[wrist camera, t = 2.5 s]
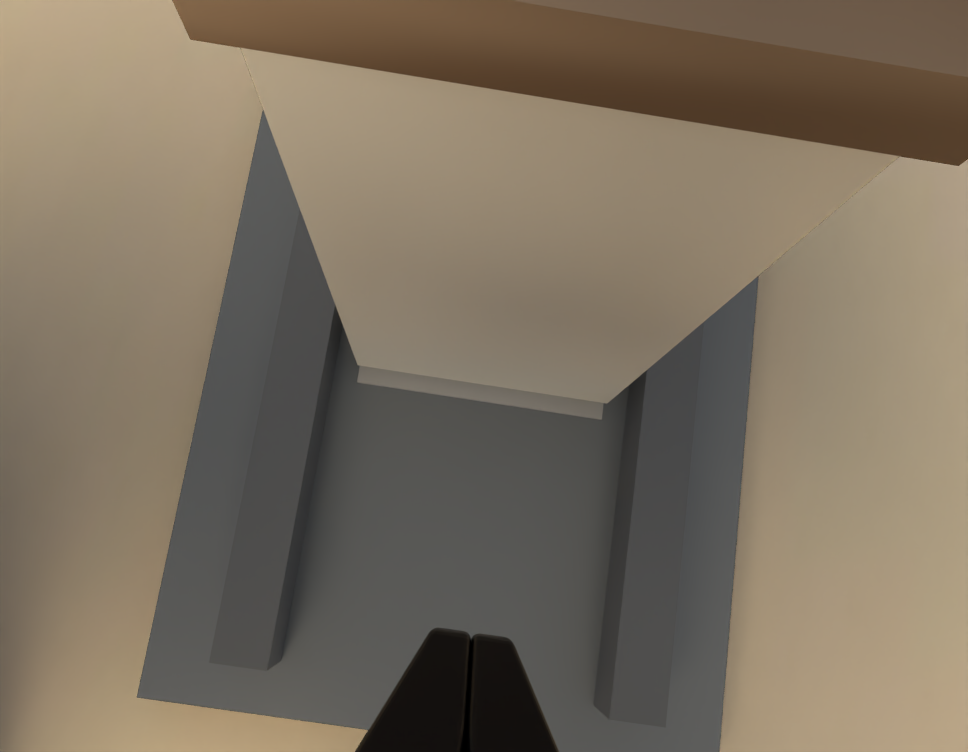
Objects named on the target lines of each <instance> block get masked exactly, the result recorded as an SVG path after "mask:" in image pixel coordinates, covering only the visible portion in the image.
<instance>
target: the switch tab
mask: <svg viewBox="0 0 968 752" xmlns="http://www.w3.org/2000/svg"><path fill="white" fill-rule="evenodd" d="M173 3H174V5H175V7H176V9H177V11H178V13H179V16H180V18H181V20H182V22H183V24H184V26H185V29H186V31H187V33H188V35H189V37H190V39H191V40H197V41H203V42H209V43H215V44H221V45H227V46H233V47H239V48H241V51H242V54H243V56H244V59H245V62H246V64H247V67H248V70H249V72H250V75H251V78H252V81H253V83H254V86H255V89H256V91H257V94H258V97H259V100H260V102H261V105H262V108H263V110H264V113H265V116H266V119H267V121H268V124H269V127H270V129H271V132H272V135H273V137H274V140H275V143H276V146H277V148H278V151H279V154H280V156H281V159H282V162H283V165H284V167H285V170H286V173H287V175H288V178H289V181H290V183H291V186H292V189H293V192H294V194H295V197H296V200H297V202H298V205H299V208H300V211H301V213H302V216H303V219H304V221H305V224H306V227H307V230H308V232H309V235H310V238H311V240H312V243H313V246H314V248H315V251H316V254H317V257H318V259H319V262H320V265H321V267H322V270H323V273H324V276H325V278H326V281H327V284H328V286H329V289H330V292H331V294H332V297H333V300H334V303H335V305H336V308H337V311H338V313H339V316H340V319H341V322H342V324H343V327H344V330H345V332H346V335H347V338H348V341H349V343H350V346H351V349H352V351H353V354H354V357H355V359H356V362H357V365H359V366H366V367H372V368H379V369H385V370H392V371H398V372H405V373H411V374H418V375H424V376H431V377H437V378H444V379H450V380H457V381H463V382H470V383H476V384H483V385H489V386H496V387H502V388H509V389H515V390H522V391H528V392H535V393H541V394H548V395H555V396H561V397H568V398H574V399H581V400H587V401H594V402H600V403H608V402H610V401H611V400H612V399H613V398H614V397H615V396H617V395H618V394H619V393H620V392H621V391H623V390H624V389H625V388H626V387H627V386H629V385H630V384H631V383H632V382H633V381H634V380H636V379H637V378H638V377H639V376H640V375H642V374H643V373H644V372H645V371H646V370H647V369H649V368H650V367H651V366H652V365H653V364H655V363H656V362H657V361H658V360H659V359H660V358H662V357H663V356H664V355H665V354H666V353H668V352H669V351H670V350H671V349H672V348H673V347H675V346H676V345H677V344H678V343H679V342H681V341H682V340H683V339H684V338H685V337H686V336H688V335H689V334H690V333H691V332H692V331H694V330H695V329H696V328H697V327H698V326H700V325H701V324H702V323H703V322H704V321H705V320H707V319H708V318H709V317H710V316H711V315H713V314H714V313H715V312H716V311H717V310H718V309H720V308H721V307H722V306H723V305H724V304H726V303H727V302H728V301H729V300H730V299H731V298H733V297H734V296H735V295H736V294H737V293H739V292H740V291H741V290H742V289H743V288H744V287H746V286H747V285H748V284H749V283H750V282H752V281H753V280H754V279H755V278H756V277H757V276H759V275H760V274H761V273H762V272H763V271H765V270H766V269H767V268H768V267H769V266H771V265H772V264H773V263H774V262H775V261H776V260H778V259H779V258H780V257H781V256H782V255H784V254H785V253H786V252H787V251H788V250H789V249H791V248H792V247H793V246H794V245H795V244H797V243H798V242H799V241H800V240H801V239H802V238H804V237H805V236H806V235H807V234H808V233H810V232H811V231H812V230H813V229H814V228H815V227H817V226H818V225H819V224H820V223H821V222H823V221H824V220H825V219H826V218H827V217H828V216H830V215H831V214H832V213H833V212H834V211H836V210H837V209H838V208H839V207H840V206H842V205H843V204H844V203H845V202H846V201H847V200H849V199H850V198H851V197H852V196H853V195H855V194H856V193H857V192H858V191H859V190H860V189H862V188H863V187H864V186H865V185H866V184H868V183H869V182H870V181H871V180H872V179H873V178H875V177H876V176H877V175H878V174H879V173H881V172H882V171H883V170H884V169H885V168H886V167H888V166H889V165H890V164H891V163H892V162H894V161H895V160H896V159H897V158H898V157H899V156H901V157H907V158H913V159H920V160H926V161H932V162H938V163H944V164H950V165H956V166H959V165H960V164H962V163H963V162H964V161H966V160H967V159H968V0H173Z"/></svg>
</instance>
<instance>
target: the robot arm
mask: <svg viewBox="0 0 968 752" xmlns="http://www.w3.org/2000/svg"><path fill="white" fill-rule="evenodd" d="M355 752H559V750H558V747H557V745H556V742H555V740H554V738H553V735H552V733H551V731H550V728H549V726H548V723H547V721H546V719H545V716H544V714H543V712H542V709H541V707H540V704H539V702H538V700H537V697H536V695H535V692H534V690H533V688H532V685H531V683H530V681H529V678H528V676H527V673H526V671H525V669H524V666H523V664H522V662H521V659H520V657H519V654H518V652H517V650H516V647H515V645H514V644H513V642H512V641H511V640H510V639H509V638H507V637H502V636H495V635H488V634H481V633H478V634H475V635H473V637H472V638H471V637H470V635H469V634H468V633H467V632H465V631H460V630H453V629H446V628H439V627H437V628H433V629H432V630H431V631H430V632H429V633H428V635H427V636H426V638H425V640H424V641H423V643H422V644H421V646H420V648H419V649H418V651H417V652H416V654H415V656H414V657H413V659H412V661H411V662H410V664H409V665H408V667H407V669H406V670H405V672H404V673H403V675H402V677H401V678H400V680H399V682H398V683H397V685H396V686H395V688H394V690H393V691H392V693H391V694H390V696H389V698H388V699H387V701H386V703H385V704H384V706H383V707H382V709H381V711H380V712H379V714H378V715H377V717H376V719H375V720H374V722H373V724H372V725H371V727H370V728H369V730H368V732H367V733H366V735H365V736H364V738H363V740H362V741H361V743H360V745H359V746H358V748H357V749H356V751H355Z"/></svg>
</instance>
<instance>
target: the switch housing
mask: <svg viewBox="0 0 968 752" xmlns="http://www.w3.org/2000/svg"><path fill="white" fill-rule="evenodd" d="M757 287H758V276H757V277H756V278H755V279H754V280H753V281H752V282H750V283H749V284H748V285H747V286H746V287H744V288H743V289H742V290H741V291H740V292H739V293H737V294H736V295H735V296H734V297H733V298H731V299H730V300H729V301H728V302H727V303H726V304H724V305H723V306H722V307H721V308H720V309H718V310H717V311H716V312H715V313H714V314H713V315H711V316H710V317H709V318H708V319H707V320H705V321H704V322H703V323H702V324H701V325H700V326H698V327H697V328H696V329H695V330H694V331H692V332H691V333H690V334H689V335H688V336H686V337H685V338H684V339H683V340H682V341H681V342H679V343H678V344H677V345H676V346H675V347H673V348H672V349H671V350H670V351H669V352H668V353H666V354H665V355H664V356H663V357H662V358H660V359H659V360H658V361H657V362H656V363H655V364H653V365H652V366H651V367H650V368H649V369H647V370H646V371H645V372H644V373H643V374H642V375H640V376H639V377H638V378H637V379H636V380H634V381H633V382H632V383H631V384H630V385H629V386H627V387H626V388H625V389H624V390H623V391H621V392H620V393H619V394H618V395H617V396H615V397H614V398H613V399H612V400H611V401H610V402H608V403H600V402H594V401H587V400H581V399H574V398H568V397H561V396H555V395H548V394H541V393H535V392H528V391H522V390H515V389H509V388H502V387H496V386H489V385H483V384H476V383H470V382H463V381H457V380H450V379H444V378H437V377H431V376H424V375H418V374H411V373H405V372H398V371H392V370H385V369H379V368H372V367H366V366H359V365H357V362H356V359H355V357H354V354H353V351H352V349H351V346H350V343H349V341H348V338H347V335H346V332H345V330H344V327H343V324H342V322H341V319H340V316H339V313H338V311H337V308H336V305H335V303H334V300H333V297H332V294H331V292H330V289H329V286H328V284H327V281H326V278H325V276H324V273H323V270H322V267H321V265H320V262H319V259H318V257H317V254H316V251H315V248H314V246H313V243H312V240H311V238H310V235H309V232H308V230H307V227H306V224H305V221H304V219H303V216H302V213H301V211H300V208H299V205H298V202H297V200H296V197H295V194H294V192H293V189H292V186H291V183H290V181H289V178H288V175H287V173H286V170H285V167H284V165H283V162H282V159H281V156H280V154H279V151H278V148H277V146H276V143H275V140H274V137H273V135H272V132H271V129H270V127H269V124H268V121H267V119H266V116H265V113H264V110H263V112H262V117H261V121H260V126H259V131H258V135H257V140H256V144H255V149H254V154H253V158H252V163H251V168H250V172H249V177H248V182H247V186H246V191H245V196H244V200H243V205H242V210H241V214H240V219H239V224H238V228H237V233H236V238H235V242H234V247H233V252H232V256H231V261H230V266H229V270H228V275H227V280H226V284H225V289H224V294H223V298H222V303H221V307H220V312H219V317H218V321H217V326H216V331H215V335H214V340H213V345H212V349H211V354H210V359H209V363H208V368H207V373H206V377H205V382H204V387H203V391H202V396H201V401H200V405H199V410H198V415H197V419H196V424H195V429H194V433H193V438H192V443H191V447H190V452H189V457H188V461H187V466H186V470H185V475H184V480H183V484H182V489H181V494H180V498H179V503H178V508H177V512H176V517H175V522H174V526H173V531H172V536H171V540H170V545H169V550H168V554H167V559H166V564H165V568H164V573H163V578H162V582H161V587H160V592H159V596H158V601H157V606H156V610H155V615H154V620H153V624H152V629H151V633H150V638H149V643H148V647H147V652H146V657H145V661H144V666H143V671H142V675H141V680H140V685H139V689H138V694H137V698H144V699H151V700H158V701H165V702H173V703H180V704H187V705H194V706H201V707H208V708H215V709H223V710H230V711H237V712H244V713H251V714H258V715H265V716H273V717H280V718H287V719H294V720H301V721H308V722H315V723H322V724H330V725H337V726H344V727H351V728H358V729H365V730H369V728H370V727H371V725H372V724H373V722H374V720H375V719H376V717H377V715H378V714H379V712H380V711H381V709H382V707H383V706H384V704H385V703H386V701H387V699H388V698H389V696H390V694H391V693H392V691H393V690H394V688H395V686H396V685H397V683H398V682H399V680H400V678H401V677H402V675H403V673H404V672H405V670H406V669H407V667H408V665H409V664H410V662H411V661H412V659H413V657H414V656H415V654H416V652H417V651H418V649H419V648H420V646H421V644H422V643H423V641H424V640H425V638H426V636H427V635H428V633H429V632H430V631H431V630H432V629H433V628H437V627H439V628H446V629H453V630H460V631H465V632H467V633H468V634H469V635H470V637H471V638H472V637H473V635H475V634H478V633H481V634H488V635H495V636H502V637H507V638H509V639H510V640H511V641H512V642H513V644H514V645H515V647H516V650H517V652H518V654H519V657H520V659H521V662H522V664H523V666H524V669H525V671H526V673H527V676H528V678H529V681H530V683H531V685H532V688H533V690H534V692H535V695H536V697H537V700H538V702H539V704H540V707H541V709H542V712H543V714H544V716H545V719H546V721H547V723H548V726H549V728H550V731H551V733H552V735H553V738H554V740H555V742H556V745H557V747H558V750H559V752H719V749H720V737H721V725H722V713H723V700H724V688H725V676H726V664H727V652H728V639H729V627H730V615H731V603H732V591H733V579H734V566H735V554H736V542H737V530H738V518H739V506H740V493H741V481H742V469H743V457H744V445H745V433H746V420H747V408H748V396H749V384H750V372H751V360H752V347H753V335H754V323H755V311H756V299H757Z"/></svg>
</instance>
